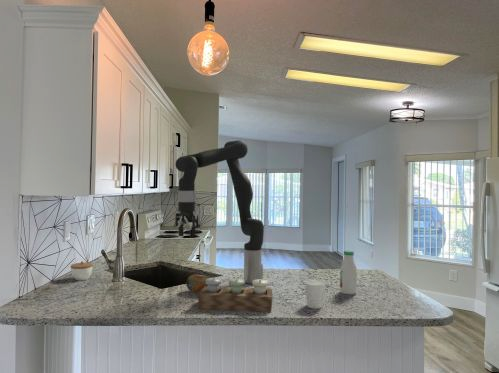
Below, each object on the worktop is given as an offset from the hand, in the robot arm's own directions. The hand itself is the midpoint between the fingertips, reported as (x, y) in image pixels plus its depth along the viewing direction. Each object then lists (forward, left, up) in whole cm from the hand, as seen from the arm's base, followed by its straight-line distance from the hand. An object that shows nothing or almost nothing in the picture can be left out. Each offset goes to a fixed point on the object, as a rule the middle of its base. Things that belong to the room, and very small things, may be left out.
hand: (186, 237), depth 164 cm
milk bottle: (-66, +39, -28) cm, 82 cm away
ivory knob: (-19, +28, -22) cm, 41 cm away
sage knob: (-12, +21, -22) cm, 33 cm away
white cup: (-38, +42, -28) cm, 63 cm away
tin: (-10, -4, -28) cm, 30 cm away
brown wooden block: (-12, +21, -28) cm, 37 cm away
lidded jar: (+27, -64, -28) cm, 75 cm away
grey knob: (-5, +14, -22) cm, 27 cm away
